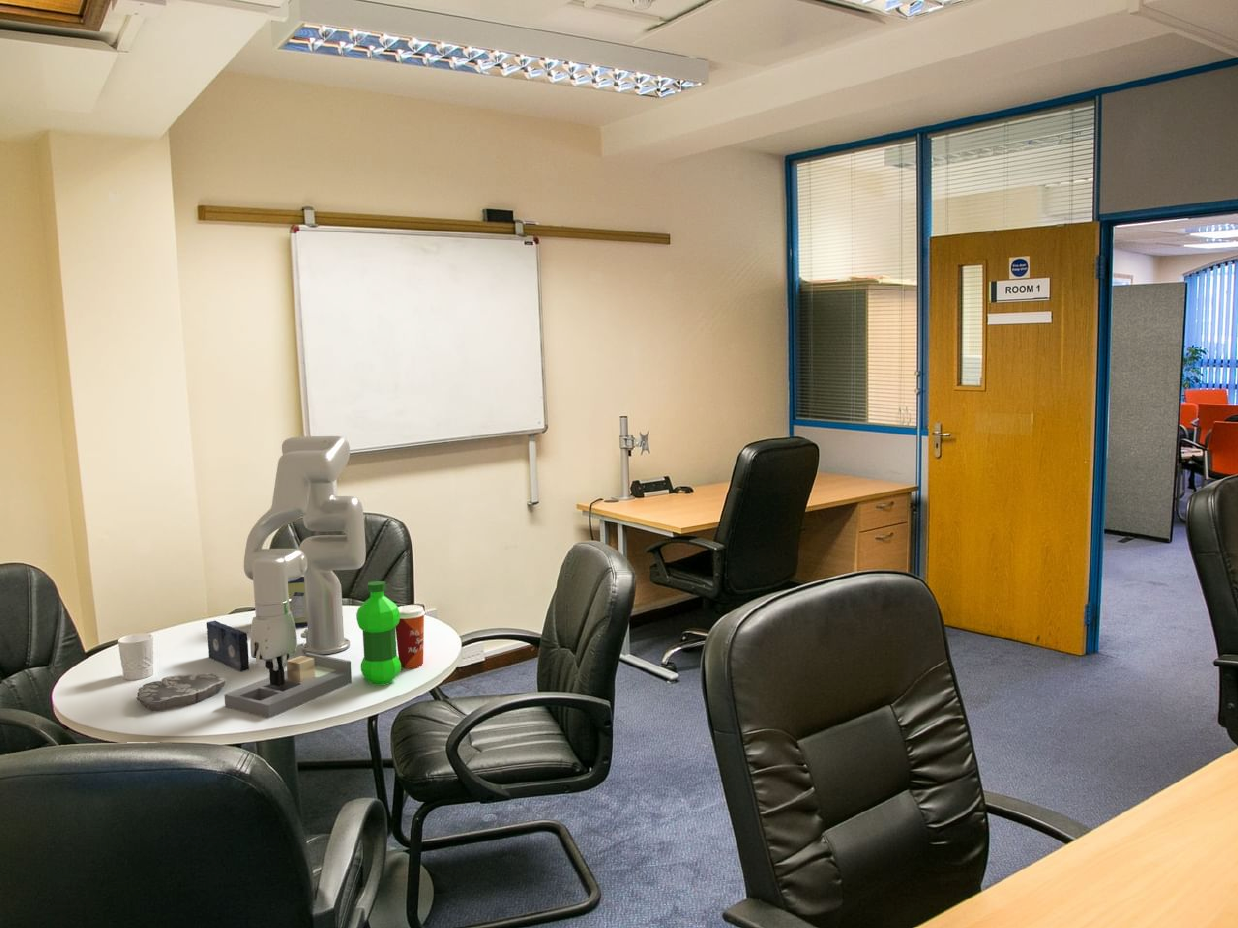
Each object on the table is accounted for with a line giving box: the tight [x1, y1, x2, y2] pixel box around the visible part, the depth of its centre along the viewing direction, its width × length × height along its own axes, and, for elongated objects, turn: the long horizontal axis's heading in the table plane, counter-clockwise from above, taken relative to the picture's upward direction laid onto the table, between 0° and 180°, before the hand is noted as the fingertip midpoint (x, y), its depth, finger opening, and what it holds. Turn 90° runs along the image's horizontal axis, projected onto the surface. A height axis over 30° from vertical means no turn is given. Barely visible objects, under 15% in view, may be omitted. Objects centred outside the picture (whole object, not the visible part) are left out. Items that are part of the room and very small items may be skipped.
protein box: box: [288, 575, 307, 628], centre depth 281 cm, size 10×16×16 cm
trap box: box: [224, 653, 353, 719], centre depth 222 cm, size 15×25×6 cm, turn 150°
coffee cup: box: [395, 604, 426, 669], centre depth 241 cm, size 8×8×15 cm
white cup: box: [117, 632, 154, 681], centre depth 237 cm, size 8×8×10 cm
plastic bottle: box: [355, 580, 402, 686], centre depth 228 cm, size 10×10×25 cm
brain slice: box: [136, 673, 226, 712], centre depth 222 cm, size 20×17×3 cm
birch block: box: [286, 655, 315, 682], centre depth 224 cm, size 4×4×4 cm
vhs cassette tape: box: [206, 620, 250, 672], centre depth 245 cm, size 18×3×10 cm, turn 47°
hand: (277, 684), depth 218 cm, fingers closed
